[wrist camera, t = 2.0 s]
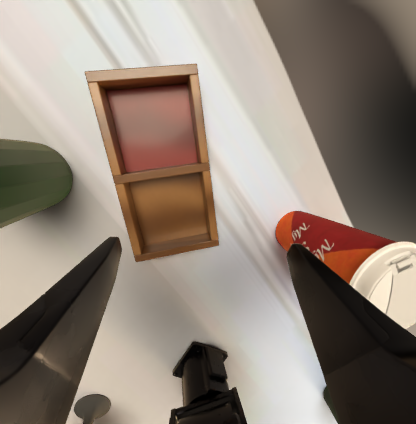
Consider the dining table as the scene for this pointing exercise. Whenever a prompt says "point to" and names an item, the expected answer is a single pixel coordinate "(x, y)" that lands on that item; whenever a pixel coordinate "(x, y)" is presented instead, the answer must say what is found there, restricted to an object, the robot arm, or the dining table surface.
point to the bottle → (30, 179)
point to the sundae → (92, 408)
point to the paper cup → (359, 261)
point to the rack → (157, 156)
